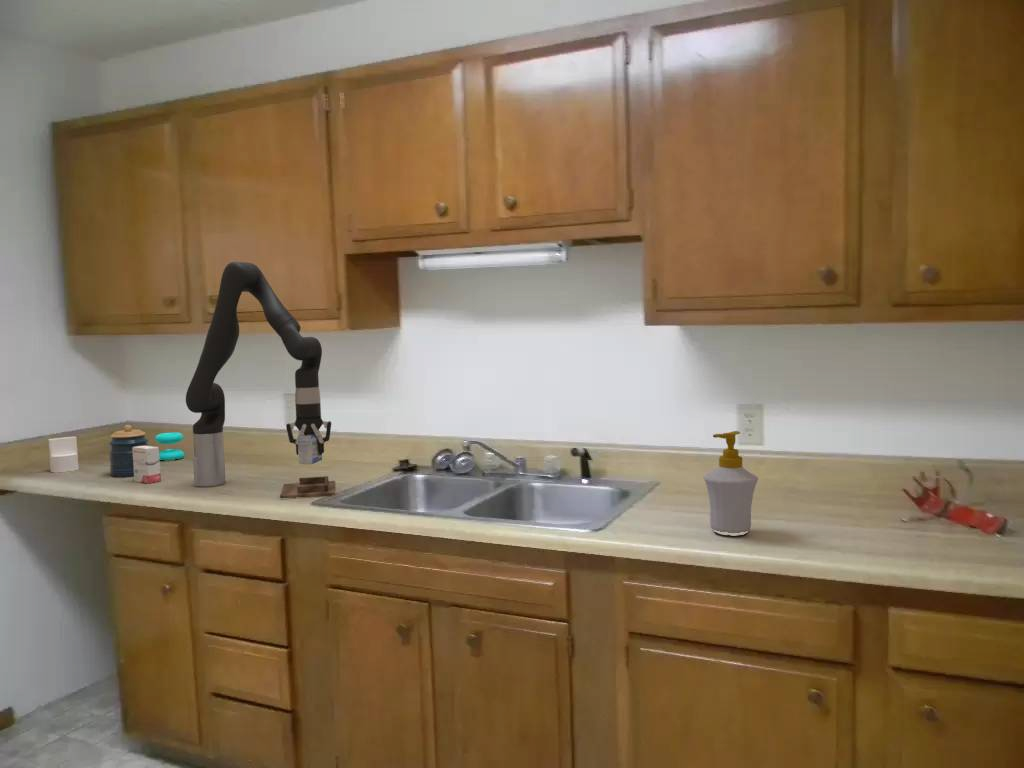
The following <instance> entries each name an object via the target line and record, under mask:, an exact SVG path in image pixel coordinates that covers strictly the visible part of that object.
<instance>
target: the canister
mask: <svg viewBox="0 0 1024 768" xmlns="http://www.w3.org/2000/svg"><path fill="white" fill-rule="evenodd" d="M146 434H147V432H145V431H142V429H133V427H132V425H131V424H125V425H124V427H123V430H117V431H115V432H114V433H113V434H111V435H110V437H111V440H109V441H108V444H109V446H110V448H109V451H108V453H109V463H110V465H109V466H110V469H109V471H110V475H111V476H112V477H115V478H128V477H129V478H130V477H131V478H132V477H134V467H133V451H132V448H133V447H137V446H149V445H148V443H149V441H150V439H149V438H147V437H146V436H145V435H146Z"/></svg>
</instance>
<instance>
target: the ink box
mask: <svg viewBox="0 0 1024 768" xmlns="http://www.w3.org/2000/svg"><path fill="white" fill-rule="evenodd" d="M132 451H133V467H134V476H133V479H134V482H136V483H137V482H138V483H143V482H144V483H145V484H152V483H153V482H154V483H157V481H158V482H161V481H162V475H161V461H160V460H159V452H160V449H159V447H158V446H151V445H148V446H137V447H133V448H132Z"/></svg>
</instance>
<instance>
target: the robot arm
mask: <svg viewBox="0 0 1024 768" xmlns="http://www.w3.org/2000/svg"><path fill="white" fill-rule="evenodd" d="M221 275H222V276H221V278H220V279H221V280H220V284H219V288H218V289H219V290H218V296H217V300H216V304H215V307H214V311H213V314H212V315H213V316H212V319H211V322H210V325H209V328H208V331H207V334H206V337H205V341H204V345H203V348H202V351H201V354H200V356H199V360H198V363H197V366H196V369H195V372H194V374H193V376H192V379H191V380H190V383H189V386H188V387H187V390H186V394H185V404H186V407H187V409H188V410H189V411H190V412H192V413H195V414H196V413H197V414H200V415H201V416H200V417H199V419H198V420H197V421H196V422H195V423H194V424H193V425H192V439H193V440H192V441H193V455H194V456H193V457H192V460H193V461H192V462H193V463H192V465H193V481H194V487H203V488H205V487H207V488H208V487H215V486H221V485H224V484H226V467H225V465H226V463H225V445H224V444H225V443H224V425H225V421H226V397H225V392H224V390H223V388H222V386H220V385H219V384H218V383H216V382H215V380H216V377H217V376H218V373H219V372H220V371H221V370H222V368H224V365H226V363H227V362H228V360H230V358H231V357H232V355H233V353H234V352H235V348H236V346H237V343H238V340H239V337H240V324H239V323H240V322H239V320H238V319H239V318H238V312H237V311H238V304H239V301H240V298H241V295H242V293H243V292H244V293H245V292H246V293H249V294H251V295H252V296H253V297H254V298H255V299H256V300H257V301H258V302H259V304H260V306H261V308H262V310H263V314H264V317H265V319H266V321H267V323H268V324H269V325H270V327H271V328H272V329H273V330H274V332H275V333H276V334H277V335H278V336H279V338H280V339H281V341H282V343H283V346H284V347H285V350H286V351H287V353H288V355H290V356H291V358H293V359H294V360H296V361H301V366H299V368H297V369H296V370H295V372H294V383H295V385H294V386H295V392H294V393H295V394H294V403H295V421H294V422H291V423H290V422H288V423H287V424H286V425H285V428H286V432H287V437H288V441H289V443H290V444H294V445H295V451H296V452H295V453H296V455H297V456H299V455H298V437H300V436H303V435H307V434H316V436H317V438H318V440H319V442H320V443H319V452H320V455H322V456H323V454H324V453H325V443H326V442H329V440H330V437H331V429H332V421H331V420H329V421H325V420H323V419H322V412H321V411H322V408H321V407H322V406H321V391H320V387H319V385H320V384H319V383H320V382H319V380H320V379H319V370H320V366H321V363H322V362H321V361H322V355H323V348H322V345H321V342H320V340H319V339H318V338H316V337H314V336H302V335H301V334H300V331H301V325H300V323H299V322H298V321H297V319H296V318H295V317H294V316H293V315H292V314H291V312H289V310H288V309H287V308H286V307H285V305H283V303H282V302H281V301H280V299H279V298H278V296H277V294H276V293H275V291H274V290H273V288H272V287H271V285H270V284H269V281H268V279H267V278H266V277H265V275H264V274H263V272H262V270H261V269H260V267H258V266H257V265H256V264H255V263H252V262H245V261H232V262H229V263H228V264H227V265H226V266H225V267H224V269H223V272H222V274H221ZM322 426H324V428H325V429H326V430H325V431H326V432H325V436H324V437H323V436H322V433H321V432H320V429H321V427H322ZM295 427H296V428H297V430H298V431H299V432H298V435H297V438H295V437H294V434H293V431H294V428H295Z"/></svg>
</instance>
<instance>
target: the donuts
mask: <svg viewBox="0 0 1024 768" xmlns="http://www.w3.org/2000/svg"><path fill="white" fill-rule="evenodd" d="M183 438H184V435H183V433H181V432H177V431H176V432H162V433H158V434H157V435H155V441H156V442H157V443H158V444H162V445H172V444H177V443H180V442H181V441H183V440H184V439H183ZM184 456H185V453H184V451H183V450H181V449H177V448H169V449H164V450H159V460H173V459H179V458H181V459H183V458H184ZM182 457H183V458H182ZM179 460H180V459H179ZM173 461H174V460H173Z"/></svg>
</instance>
